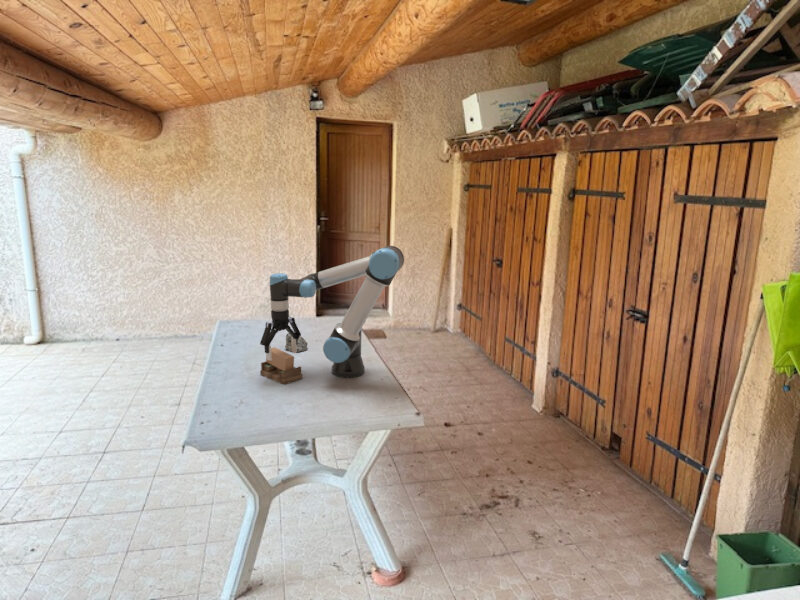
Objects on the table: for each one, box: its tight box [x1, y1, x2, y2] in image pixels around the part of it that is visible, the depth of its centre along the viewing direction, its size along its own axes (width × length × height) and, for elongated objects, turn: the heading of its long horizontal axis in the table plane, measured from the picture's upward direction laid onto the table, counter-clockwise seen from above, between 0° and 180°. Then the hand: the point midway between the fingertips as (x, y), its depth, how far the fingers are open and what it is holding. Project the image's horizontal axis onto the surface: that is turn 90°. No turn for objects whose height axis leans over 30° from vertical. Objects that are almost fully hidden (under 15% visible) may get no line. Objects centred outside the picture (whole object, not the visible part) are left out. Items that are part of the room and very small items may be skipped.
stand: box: [259, 361, 303, 386], centre depth 228 cm, size 17×10×6 cm, turn 50°
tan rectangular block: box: [265, 347, 295, 371], centre depth 227 cm, size 14×4×6 cm, turn 49°
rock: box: [284, 332, 308, 353], centre depth 266 cm, size 13×10×10 cm
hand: (281, 356), depth 226 cm, fingers open, 13 cm apart
